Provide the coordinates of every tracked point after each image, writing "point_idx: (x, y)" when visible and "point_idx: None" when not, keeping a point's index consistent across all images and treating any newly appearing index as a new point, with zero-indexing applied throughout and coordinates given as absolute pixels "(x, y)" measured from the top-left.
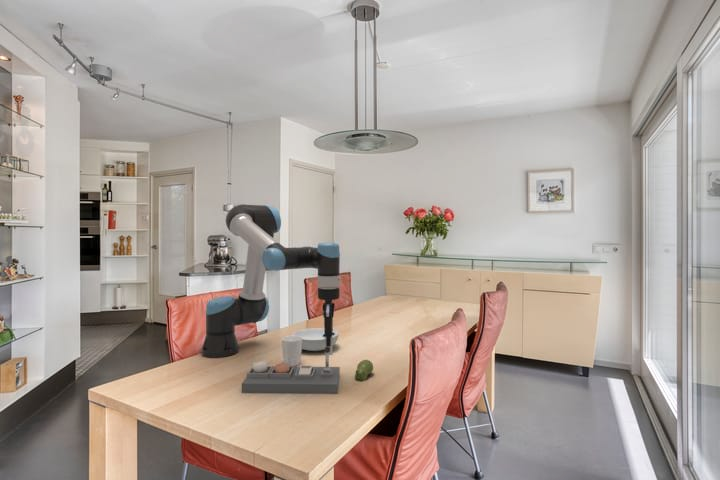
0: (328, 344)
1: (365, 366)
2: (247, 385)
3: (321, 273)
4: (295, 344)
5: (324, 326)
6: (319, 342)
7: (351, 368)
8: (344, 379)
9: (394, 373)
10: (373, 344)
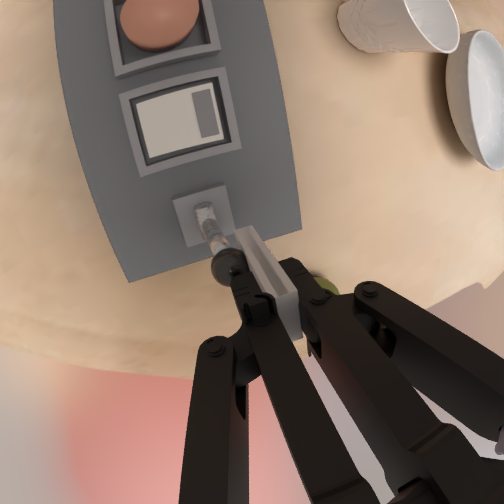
0: (234, 298)
1: None
2: None
3: None
4: (401, 23)
5: (185, 447)
6: (464, 115)
7: (347, 235)
8: None
9: None
10: (472, 236)
